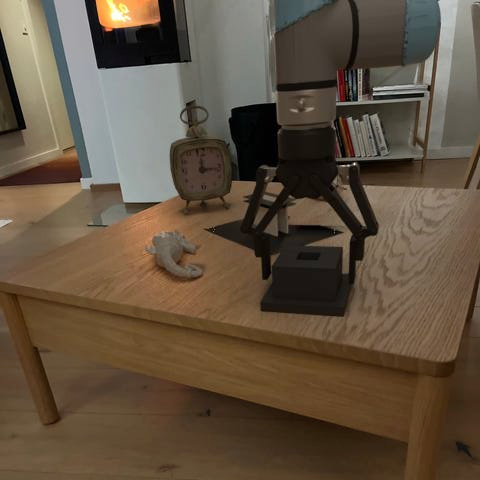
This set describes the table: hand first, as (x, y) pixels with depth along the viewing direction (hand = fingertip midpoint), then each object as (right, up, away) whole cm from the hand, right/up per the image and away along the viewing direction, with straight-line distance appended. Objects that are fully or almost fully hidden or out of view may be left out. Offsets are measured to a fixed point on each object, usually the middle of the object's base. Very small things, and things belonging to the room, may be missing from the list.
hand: (308, 278), depth 72 cm
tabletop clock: (-19, +23, +53) cm, 61 cm away
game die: (+12, +24, +50) cm, 56 cm away
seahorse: (-22, +4, +19) cm, 29 cm away
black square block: (0, -1, +1) cm, 1 cm away
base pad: (0, -3, +1) cm, 3 cm away
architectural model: (-4, +13, +32) cm, 35 cm away
